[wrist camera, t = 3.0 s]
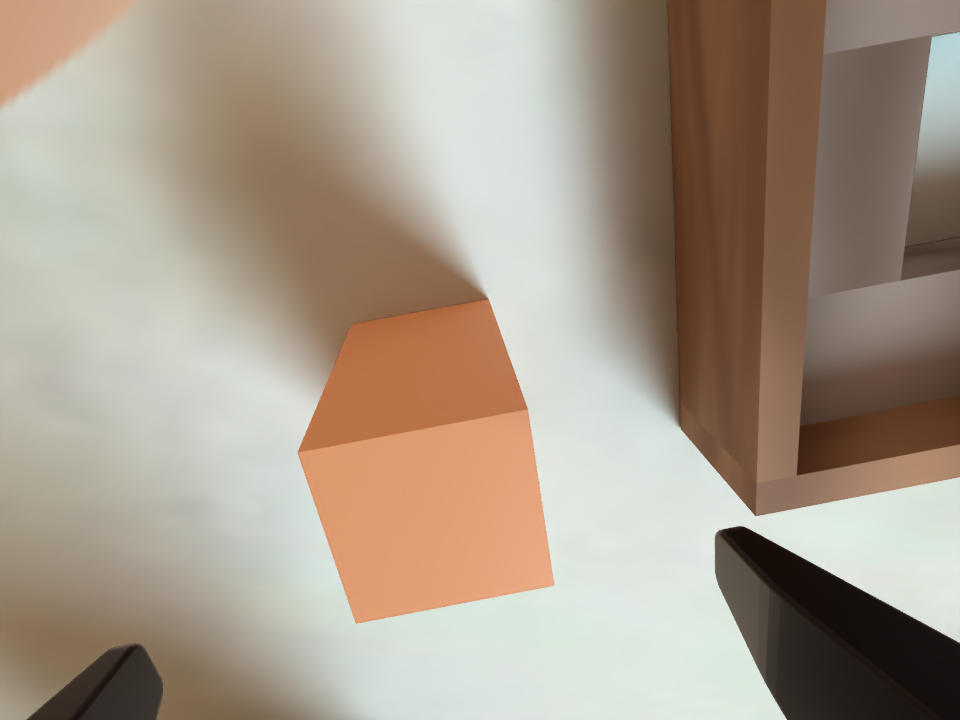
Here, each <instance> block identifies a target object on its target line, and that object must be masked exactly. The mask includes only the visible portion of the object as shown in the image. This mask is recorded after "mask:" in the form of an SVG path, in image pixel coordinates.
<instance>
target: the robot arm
mask: <svg viewBox="0 0 960 720" xmlns="http://www.w3.org/2000/svg"><path fill="white" fill-rule="evenodd" d="M715 574H716V578H717V582H718V585H719V587H720V589H721V592H722V594H723V596H724V598H725V600H726V602H727V604H728V606H729V608H730V610H731V613H732V615H733V617H734V619H735V621H736V623H737V625H738V627H739V629H740V631H741V634H742V636H743V638H744V640H745V642H746V644H747V646H748V648H749V650H750V652H751V655H752V657H753V659H754V661H755V663H756V665H757V667H758V669H759V671H760V673H761V675H762V677H763V679H764V681H765V683H766V685H767V687H768V688H769V690H770V692H771V694H772V695H773V697H774V699H775V701H776V702H777V704H778V706H779V707H780V709H781V711H782V712H783V714H784V716H785V717H786V719H787V720H960V643H959V642H957V641H955V640H953V639H951V638H950V637H948V636H946V635H944V634H942V633H940V632H938V631H937V630H935V629H933V628H931V627H929V626H927V625H926V624H924V623H922V622H920V621H918V620H916V619H914V618H913V617H911V616H909V615H907V614H905V613H903V612H901V611H900V610H898V609H896V608H894V607H892V606H890V605H889V604H887V603H885V602H883V601H881V600H879V599H877V598H876V597H874V596H872V595H870V594H868V593H866V592H864V591H863V590H861V589H859V588H857V587H855V586H853V585H852V584H850V583H848V582H846V581H844V580H842V579H840V578H839V577H837V576H835V575H833V574H831V573H829V572H827V571H826V570H824V569H822V568H820V567H818V566H816V565H814V564H813V563H811V562H809V561H807V560H805V559H803V558H802V557H800V556H798V555H796V554H794V553H792V552H790V551H789V550H787V549H785V548H783V547H781V546H779V545H777V544H776V543H774V542H772V541H770V540H768V539H766V538H765V537H763V536H761V535H759V534H757V533H755V532H753V531H752V530H750V529H748V528H745V527H742V526H738V527H733V528H728V529H722V530H719V531H718V532H717V533H716V535H715ZM162 694H163V683H162V679H161V677H160V675H159V673H158V671H157V669H156V667H155V666H154V664H153V662H152V660H151V658H150V657H149V655H148V653H147V651H146V649H145V648H144V647H143V646H142V645H140V644H136V643H134V644H129V645H124V646H119V647H114V648H112V649H110V650H108V651H107V652H105V653H104V654H103V655H102V656H101V657H99V658H98V659H97V660H96V661H95V662H94V663H92V664H91V665H90V666H89V667H88V668H86V669H85V670H84V671H83V672H82V673H81V674H79V675H78V676H77V677H76V678H75V679H74V680H72V681H71V682H70V683H69V684H68V685H67V686H65V687H64V688H63V689H62V690H61V691H59V692H58V693H57V694H56V695H55V696H54V697H52V698H51V699H50V700H49V701H48V702H47V703H45V704H44V705H43V706H42V707H41V708H40V709H38V710H37V711H36V712H35V713H34V714H33V715H31V716H30V717H29V718H28V719H27V720H156V718H157V714H158V711H159V707H160V703H161V699H162Z"/></svg>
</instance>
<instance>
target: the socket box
mask: <svg viewBox="0 0 960 720" xmlns="http://www.w3.org/2000/svg"><path fill="white" fill-rule="evenodd" d="M668 27H669V59H670V91H671V124H672V156H673V189H674V221H675V253H676V286H677V318H678V351H679V383H680V415H681V430H682V431H683V432H684V433H685V434H686V436H687V437H688V438H689V439H690V440H691V441H692V443H693V444H694V445H695V446H696V447H697V448H698V450H699V451H700V452H701V453H702V454H703V455H704V457H705V458H706V459H707V460H708V461H709V462H710V464H711V465H712V466H713V467H714V468H715V469H716V471H717V472H718V473H719V474H720V475H721V476H722V478H723V479H724V480H725V481H726V482H727V483H728V485H729V486H730V487H731V488H732V489H733V490H734V492H735V493H736V494H737V495H738V496H739V497H740V499H741V500H742V501H743V502H744V503H745V504H746V506H747V507H748V508H749V509H750V510H751V511H752V512H753V514H754V515H755V516H759V515H765V514H770V513H775V512H780V511H786V510H791V509H796V508H801V507H806V506H812V505H817V504H822V503H827V502H832V501H838V500H843V499H848V498H853V497H858V496H864V495H869V494H874V493H879V492H885V491H890V490H895V489H900V488H905V487H911V486H916V485H921V484H926V483H931V482H937V481H942V480H947V479H952V478H957V477H960V237H958V238H953V239H947V240H942V241H936V242H931V243H926V244H920V245H915V246H909V247H905V241H906V233H907V225H908V218H909V210H910V202H911V194H912V186H913V179H914V171H915V163H916V155H917V147H918V140H919V132H920V124H921V116H922V108H923V101H924V93H925V85H926V77H927V69H928V62H929V54H930V46H931V38H932V37H934V36H939V35H945V34H951V33H956V32H960V0H668Z"/></svg>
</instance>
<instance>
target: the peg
mask: <svg viewBox="0 0 960 720" xmlns="http://www.w3.org/2000/svg"><path fill="white" fill-rule="evenodd" d="M298 456H299V459H300V461H301V464H302V467H303V470H304V473H305V476H306V479H307V482H308V485H309V488H310V491H311V494H312V497H313V499H314V502H315V505H316V508H317V511H318V514H319V517H320V520H321V523H322V526H323V529H324V532H325V534H326V537H327V540H328V543H329V546H330V549H331V552H332V555H333V558H334V561H335V564H336V567H337V569H338V572H339V575H340V578H341V581H342V584H343V587H344V590H345V593H346V596H347V599H348V602H349V604H350V607H351V610H352V613H353V616H354V619H355V622H356V624H357V623H362V622H367V621H372V620H378V619H383V618H388V617H393V616H398V615H403V614H409V613H414V612H419V611H424V610H429V609H435V608H440V607H445V606H450V605H455V604H461V603H466V602H471V601H476V600H481V599H487V598H492V597H497V596H502V595H507V594H513V593H518V592H523V591H528V590H533V589H539V588H544V587H549V586H554V580H553V574H552V567H551V560H550V554H549V547H548V540H547V534H546V527H545V520H544V514H543V507H542V501H541V494H540V487H539V481H538V474H537V467H536V461H535V454H534V447H533V441H532V434H531V427H530V421H529V414H528V409H527V406H526V403H525V400H524V397H523V395H522V392H521V389H520V386H519V383H518V380H517V378H516V375H515V372H514V369H513V366H512V364H511V361H510V358H509V355H508V352H507V350H506V347H505V344H504V341H503V338H502V335H501V333H500V330H499V327H498V324H497V321H496V319H495V316H494V313H493V310H492V307H491V305H490V302H489V299H486V300H480V301H475V302H469V303H464V304H459V305H453V306H448V307H442V308H437V309H432V310H426V311H421V312H415V313H410V314H405V315H399V316H394V317H388V318H383V319H378V320H372V321H367V322H361V323H356V324H352V325H351V327H350V329H349V332H348V334H347V337H346V339H345V341H344V344H343V346H342V348H341V351H340V353H339V355H338V358H337V360H336V363H335V365H334V367H333V370H332V372H331V374H330V377H329V379H328V382H327V384H326V386H325V389H324V391H323V393H322V396H321V398H320V401H319V403H318V405H317V408H316V410H315V412H314V415H313V417H312V420H311V422H310V424H309V427H308V429H307V431H306V434H305V436H304V438H303V441H302V443H301V446H300V448H299V450H298Z"/></svg>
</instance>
